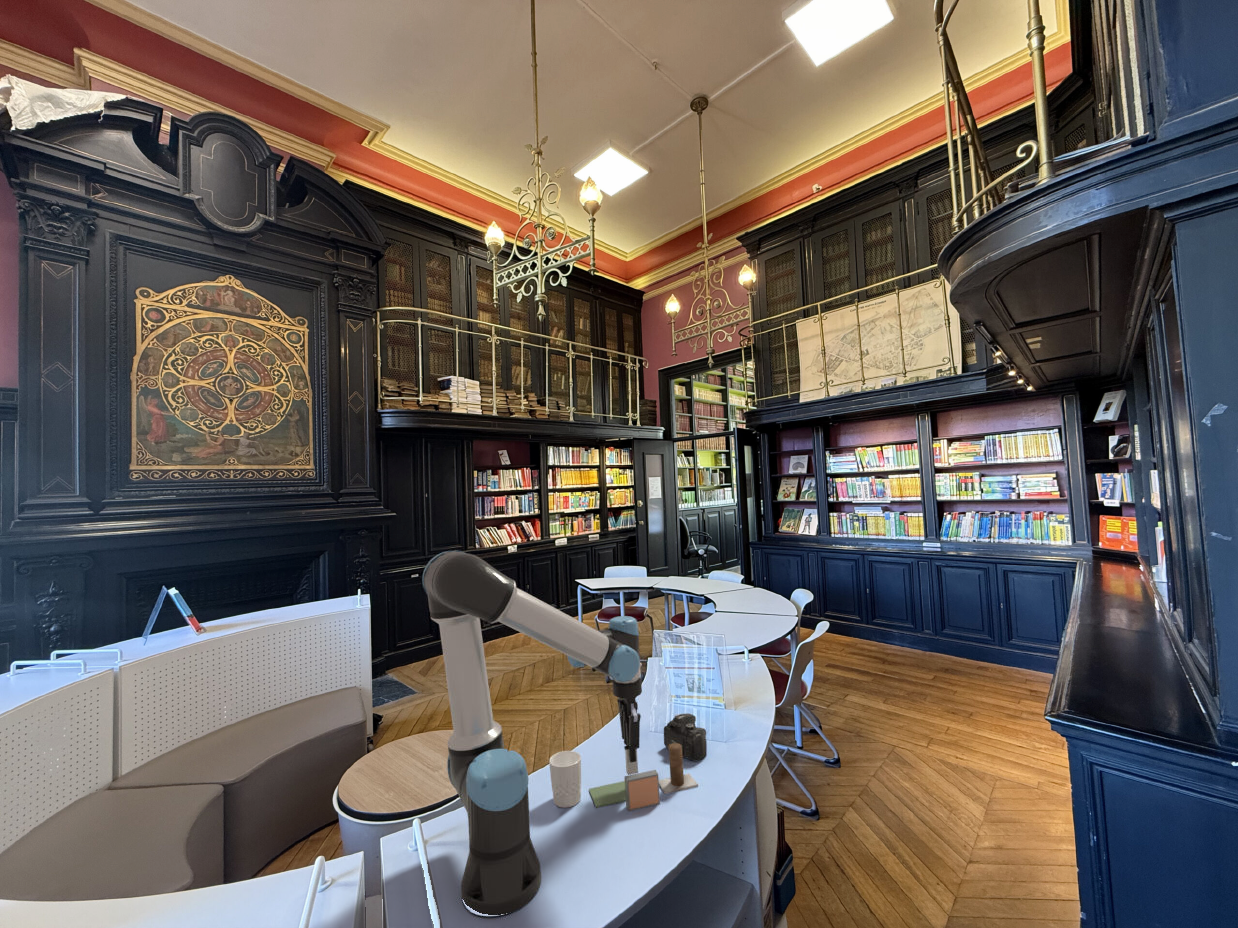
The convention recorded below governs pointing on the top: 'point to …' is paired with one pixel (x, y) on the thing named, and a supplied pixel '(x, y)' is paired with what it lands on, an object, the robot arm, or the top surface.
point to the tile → (642, 790)
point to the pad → (608, 794)
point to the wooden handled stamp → (676, 772)
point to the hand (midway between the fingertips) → (632, 772)
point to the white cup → (566, 778)
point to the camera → (686, 736)
